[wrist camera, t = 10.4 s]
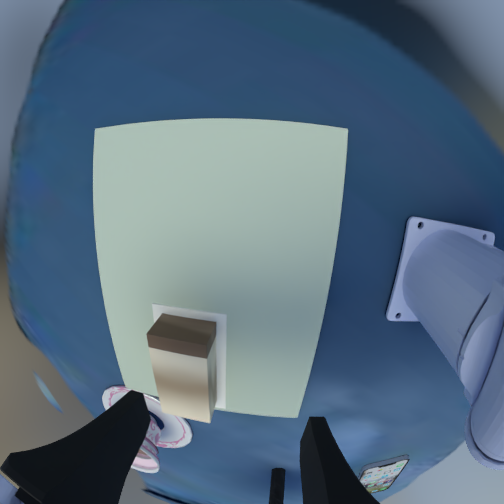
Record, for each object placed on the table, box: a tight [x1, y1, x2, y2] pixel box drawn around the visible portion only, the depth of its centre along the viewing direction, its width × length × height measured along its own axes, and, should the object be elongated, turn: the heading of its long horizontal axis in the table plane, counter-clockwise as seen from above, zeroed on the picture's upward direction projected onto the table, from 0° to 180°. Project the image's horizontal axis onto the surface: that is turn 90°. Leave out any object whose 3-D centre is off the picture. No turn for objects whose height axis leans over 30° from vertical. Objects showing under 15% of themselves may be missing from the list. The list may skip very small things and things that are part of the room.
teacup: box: [102, 386, 193, 473], centre depth 23 cm, size 12×12×6 cm
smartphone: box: [358, 455, 409, 494], centre depth 27 cm, size 7×1×15 cm
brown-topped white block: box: [146, 313, 217, 423], centre depth 20 cm, size 9×4×3 cm, turn 176°
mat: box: [93, 119, 348, 418], centre depth 20 cm, size 18×25×1 cm
